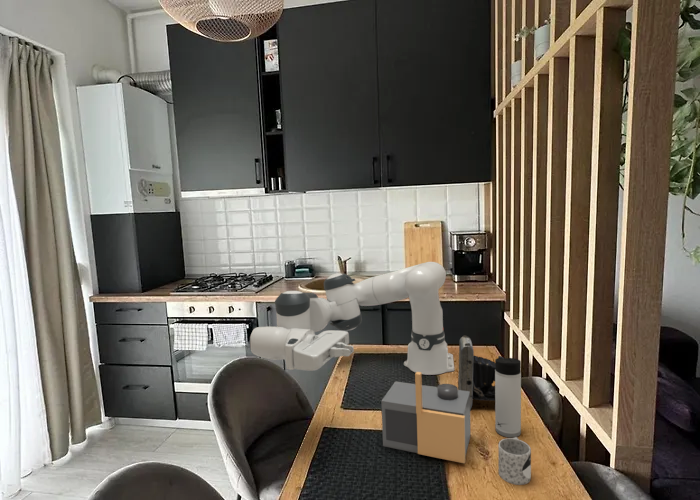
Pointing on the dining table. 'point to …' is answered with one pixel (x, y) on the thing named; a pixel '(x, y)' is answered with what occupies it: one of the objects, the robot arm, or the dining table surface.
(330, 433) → the dining table surface
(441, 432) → the side door
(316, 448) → the dining table surface
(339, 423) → the dining table surface
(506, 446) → the mug
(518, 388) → the travel mug
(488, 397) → the vintage camera
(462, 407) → the housing
